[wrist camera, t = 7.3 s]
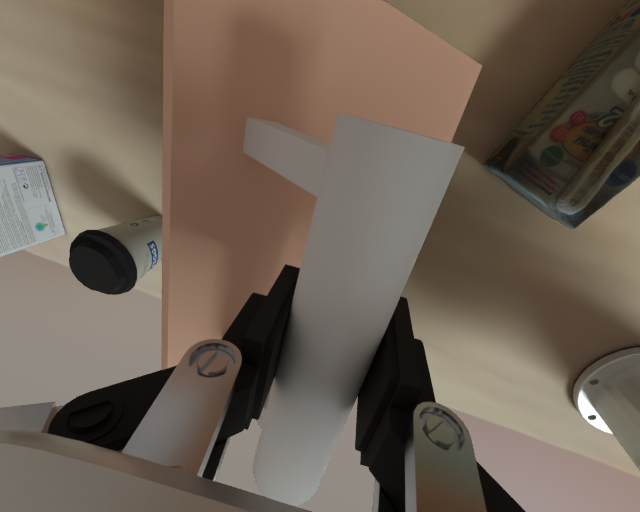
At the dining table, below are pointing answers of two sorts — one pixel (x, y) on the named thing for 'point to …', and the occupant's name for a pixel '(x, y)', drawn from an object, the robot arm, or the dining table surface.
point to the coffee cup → (116, 255)
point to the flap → (301, 193)
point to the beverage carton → (581, 130)
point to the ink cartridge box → (26, 205)
